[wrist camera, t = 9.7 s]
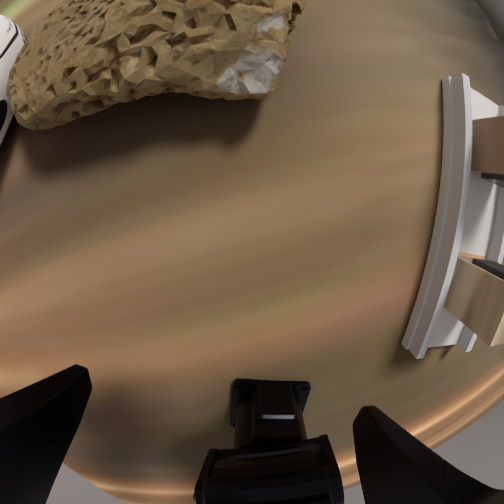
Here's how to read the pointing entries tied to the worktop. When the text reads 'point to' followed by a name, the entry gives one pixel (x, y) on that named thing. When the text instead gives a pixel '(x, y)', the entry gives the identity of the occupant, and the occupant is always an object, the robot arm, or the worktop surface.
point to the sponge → (147, 54)
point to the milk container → (7, 67)
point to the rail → (461, 212)
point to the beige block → (478, 298)
